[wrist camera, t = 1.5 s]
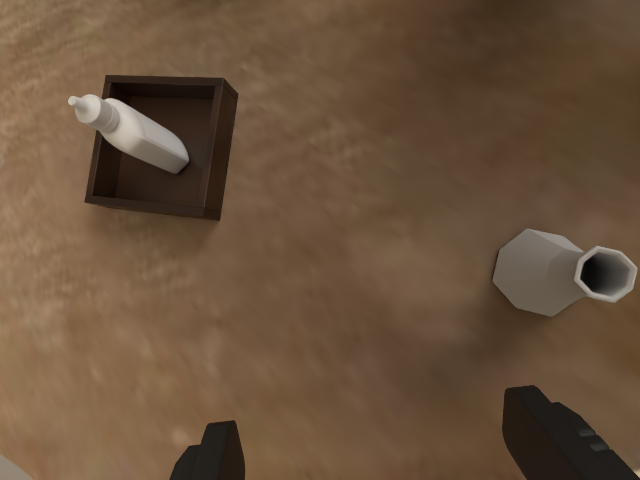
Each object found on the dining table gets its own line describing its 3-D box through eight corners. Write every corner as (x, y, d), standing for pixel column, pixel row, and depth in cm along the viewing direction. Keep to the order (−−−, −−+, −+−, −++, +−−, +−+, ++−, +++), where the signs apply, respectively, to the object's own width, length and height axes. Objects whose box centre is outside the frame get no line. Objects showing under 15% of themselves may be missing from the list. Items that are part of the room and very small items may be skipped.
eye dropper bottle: (183, 121, 38) (91, 57, 27) (192, 170, 38) (102, 126, 26) (148, 133, 39) (43, 75, 27) (156, 181, 39) (53, 143, 27)
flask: (476, 284, 32) (513, 291, 22) (521, 214, 31) (580, 190, 21) (554, 331, 30) (632, 362, 20) (603, 259, 30) (706, 254, 20)
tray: (128, 89, 41) (105, 74, 37) (238, 93, 38) (223, 77, 34) (109, 207, 40) (83, 202, 37) (219, 220, 37) (203, 216, 34)
